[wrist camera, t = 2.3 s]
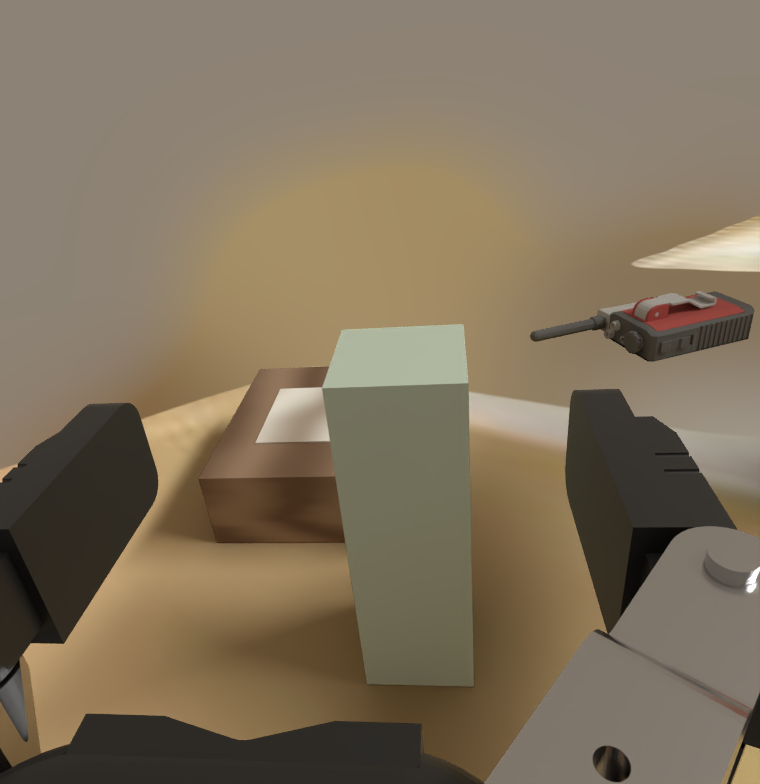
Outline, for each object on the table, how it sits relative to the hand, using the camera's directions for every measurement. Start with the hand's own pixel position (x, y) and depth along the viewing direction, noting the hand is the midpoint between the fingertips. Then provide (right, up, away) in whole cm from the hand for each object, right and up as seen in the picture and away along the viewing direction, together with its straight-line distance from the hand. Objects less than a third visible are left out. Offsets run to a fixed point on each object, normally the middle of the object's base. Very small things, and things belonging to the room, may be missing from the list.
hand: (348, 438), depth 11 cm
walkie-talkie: (+26, +5, +47) cm, 54 cm away
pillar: (+3, -12, +19) cm, 23 cm away
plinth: (-3, -5, +32) cm, 33 cm away
